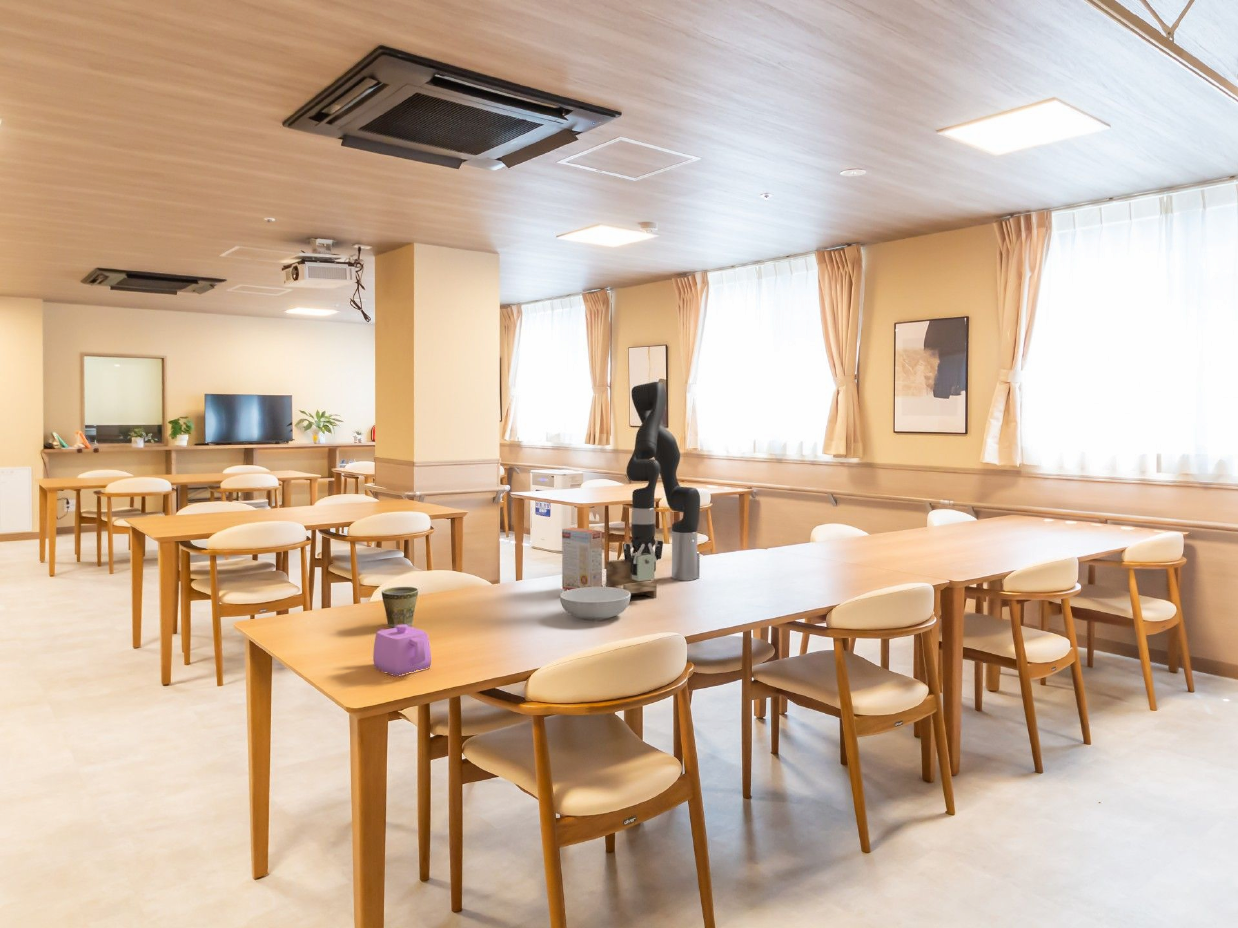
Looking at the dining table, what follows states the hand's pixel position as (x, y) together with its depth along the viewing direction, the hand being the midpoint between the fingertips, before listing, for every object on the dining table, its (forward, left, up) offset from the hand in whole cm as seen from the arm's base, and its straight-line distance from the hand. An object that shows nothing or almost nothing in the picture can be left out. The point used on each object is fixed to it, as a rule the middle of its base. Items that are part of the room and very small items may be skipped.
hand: (643, 573), depth 263 cm
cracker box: (+10, -23, -9) cm, 27 cm away
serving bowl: (+23, +10, -9) cm, 27 cm away
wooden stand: (0, -6, -9) cm, 10 cm away
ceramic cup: (+75, -10, -9) cm, 76 cm away
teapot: (+86, +30, -9) cm, 92 cm away
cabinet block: (0, 0, -2) cm, 2 cm away
